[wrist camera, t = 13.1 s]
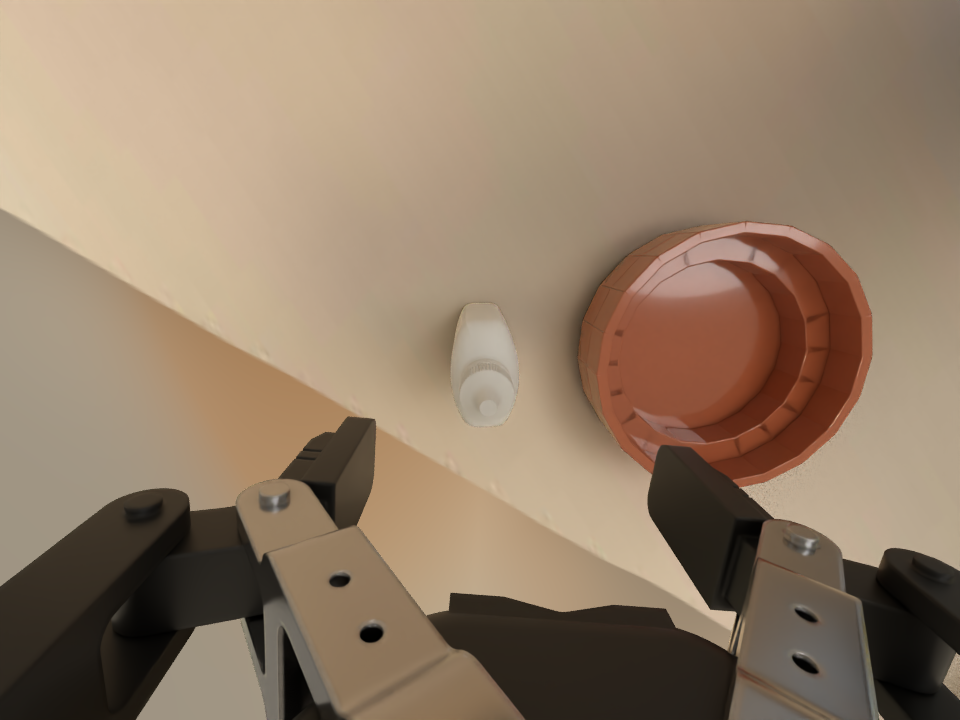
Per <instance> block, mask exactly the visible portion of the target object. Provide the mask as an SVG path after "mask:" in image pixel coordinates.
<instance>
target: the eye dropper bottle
mask: <svg viewBox="0 0 960 720" xmlns="http://www.w3.org/2000/svg"><path fill="white" fill-rule="evenodd" d="M450 377H451V387H452V392H453V396H454V400H455V403H456V406H457V408H458V410H459V413H460V415H461V416H462V418H463V420H464V421H465V422H466V423H467V424H468V425H469V426H473V427H496V426H500V425H502V424H503V423H504V422H505V421H506V420H507V418H508V417H509V415H510V413H511V411H512V408H513V406H514V403H515V400H516V396H517V392H518V385H519V363H518V357H517V352H516V348H515V344H514V341H513V338H512V335H511V333H510V330H509V328H508V326H507V323H506V321H505V319H504V317H503V315H502V313H501V311H500V309H499V307H498V306H497V305H496V304H493V303H470V304H467V305H466V306H465V307H464V308H463V310H462V312H461V314H460V317H459V320H458V324H457V328H456V333H455V339H454V345H453V350H452V357H451V368H450Z"/></svg>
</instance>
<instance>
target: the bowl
mask: <svg viewBox="0 0 960 720" xmlns="http://www.w3.org/2000/svg"><path fill="white" fill-rule="evenodd" d="M871 314H872V313H871V310H870V308H869V305H868V302H867V300H866V297H865V294H864V292H863V289H862V286H861V284H860V281H859V278H858V276H857V274H856V273H855V272H854V271H853V270H852V269H851V268H850V267H849V266H848V264H847V263H846V262H845V261H844V260H843V259H842V258H841V257H840V256H839V255H838V253H837V252H836V251H835V250H834V249H833V248H832V247H831V246H830V245H829V244H827V243H825V242H823V241H821V240H819V239H817V238H815V237H813V236H811V235H809V234H807V233H805V232H803V231H801V230H799V229H797V228H795V227H793V226H789V225H781V224H771V223H761V222H751V221H742V222H732V223H722V224H713V225H703V226H697V227H693V228H689V229H684V230H680V231H676V232H671V233H667V234H663V235H661V236H659V237H657V238H656V239H654V240H652V241H651V242H649V243H647V244H645V245H644V246H642V247H640V248H639V249H637V250H635V251H634V252H632V253H630V254H629V255H628V256H626V257H625V258H624V259H623V260H622V261H621V263H620V264H619V265H618V266H617V267H616V268H615V269H614V270H613V271H612V272H611V273H610V274H609V276H608V277H607V278H606V279H605V280H604V281H603V282H602V283H601V285H600V286H599V288H598V290H597V292H596V294H595V296H594V298H593V300H592V302H591V304H590V306H589V308H588V310H587V312H586V314H585V316H584V318H583V322H582V329H581V336H580V342H579V349H578V363H579V369H580V374H581V380H582V385H583V390H584V393H585V394H586V396H587V398H588V400H589V402H590V403H591V405H592V407H593V409H594V410H595V412H596V414H597V416H598V418H599V419H600V421H601V422H602V423H603V424H604V426H605V427H606V428H607V430H608V431H609V432H610V434H611V435H612V436H613V438H614V439H615V440H616V442H617V443H618V444H619V446H620V447H621V448H622V449H623V450H624V451H625V452H626V453H627V454H629V455H630V456H631V457H632V458H633V459H634V460H635V461H637V462H638V463H639V464H640V465H641V466H642V467H644V468H645V469H646V470H647V471H648V472H650V473H651V474H653V469H654V464H655V460H656V455H657V452H658V449H659V448H660V446H661V445H674V446H685V447H691V448H692V449H693V450H695V451H696V452H697V453H698V454H699V455H700V456H701V457H702V458H703V459H704V460H705V461H706V462H707V463H708V464H710V465H711V466H712V467H713V468H715V469H716V470H718V471H720V472H722V473H723V474H725V475H727V476H728V477H729V478H730V479H731V480H732V481H733V482H735V483H736V484H737V485H738V486H739V487H744V486H749V485H753V484H758V483H763V482H766V481H768V480H770V479H772V478H774V477H776V476H778V475H780V474H782V473H784V472H786V471H788V470H790V469H792V468H794V467H796V466H798V465H800V464H802V463H803V462H804V461H806V460H807V459H808V458H809V457H810V456H811V455H812V454H813V453H815V452H816V451H817V450H818V449H819V448H820V447H821V446H823V445H824V444H825V443H826V442H827V441H828V440H829V439H830V438H832V437H833V436H834V435H835V433H837V431H838V430H839V428H840V427H841V425H842V423H843V422H844V420H845V419H846V417H847V416H848V414H849V413H850V411H851V410H852V408H853V407H854V405H855V404H856V402H857V401H858V399H859V397H860V395H861V392H862V388H863V385H864V382H865V379H866V375H867V372H868V369H869V366H870V363H871V359H872V357H871V356H872V315H871Z"/></svg>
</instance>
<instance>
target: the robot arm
mask: <svg viewBox="0 0 960 720" xmlns="http://www.w3.org/2000/svg"><path fill="white" fill-rule="evenodd" d="M375 440H376V421H375V419H370V418H359V417H347V418H346V419H345V421H344V422H343V423H342V424H341V426H340V427H339V429H338V430H337V431H336V433H331V432H325V433H323V434H321V435H319V436H317V437H315V438H313V439H311V440H310V441H309V442H308V444H307V445H306V446H305V447H304V448H303V451H301V452H300V453H299V454H298V456H297V457H296V459H294V460H293V461H292V463H291V464H290V465H289V466H288V467H287V468H286V470H285V471H284V472H283V473H282V474H281V476H280V477H279V478H278V479H273V480H268V481H263V482H260V483H257V484H254V485H252V486H250V487H248V488H247V489H245V490H244V491H242V492H241V493H240V494H239V495H238V497H237V499H236V506H232V507H226V508H219V509H208V510H199V511H190V504H189V497H188V496H187V494H185V493H184V492H182V491H179V490H175V489H167V488H160V489H150V490H144V491H139V492H135V493H132V494H129V495H126V496H123V497H121V498H118V499H116V500H114V501H112V502H111V503H109V504H107V505H106V506H104V507H103V508H102V509H101V510H99V511H98V512H97V513H95V514H94V515H93V516H92V517H90V518H89V519H88V520H86V521H85V522H84V523H83V524H81V525H80V526H78V527H77V528H76V529H75V530H73V531H72V532H71V533H69V534H68V535H67V536H65V537H64V538H63V539H62V540H60V541H59V542H58V543H56V544H55V545H54V546H52V547H51V548H50V549H49V550H47V551H46V552H45V553H43V554H42V555H41V556H39V557H38V558H37V559H36V560H34V561H33V562H32V563H30V564H29V565H28V566H27V567H25V568H24V569H23V570H21V571H20V572H19V573H17V574H16V575H15V576H13V577H12V578H11V579H10V580H8V581H7V582H6V583H4V584H3V585H2V586H0V720H136V718H137V716H138V715H139V714H140V712H141V711H142V709H143V708H144V706H145V705H146V703H147V702H148V700H149V698H150V697H151V695H152V694H153V692H154V691H155V689H156V688H157V686H158V685H159V683H160V682H161V680H162V679H163V677H164V675H165V674H166V672H167V671H168V669H169V668H170V666H171V665H172V663H173V662H174V660H175V658H176V657H177V655H178V654H179V653H180V651H181V649H182V648H183V646H184V645H185V643H186V642H187V640H188V639H189V637H190V636H191V634H192V633H193V631H194V629H195V627H197V626H203V625H208V624H213V623H219V622H223V621H229V620H235V619H240V618H241V625H242V628H243V632H244V635H245V639H246V642H247V645H248V649H249V652H250V655H251V659H252V662H253V665H254V669H255V672H256V675H257V678H258V682H259V685H260V689H261V692H262V696H263V700H264V705H265V712H266V718H267V720H879V714H880V715H881V716H882V717H883V718H884V720H960V700H959V699H958V698H957V697H956V696H955V695H954V694H953V693H952V692H951V691H950V690H949V689H948V688H947V687H946V686H945V685H944V684H943V681H944V678H945V676H946V674H947V672H948V670H949V667H950V665H951V663H952V661H953V658H954V656H955V654H956V652H957V653H958V654H959V655H960V571H958V570H957V569H955V568H953V567H951V566H949V565H947V564H946V563H943V562H942V561H939V560H937V559H935V558H932V557H930V556H927V555H924V554H921V553H918V552H914V551H910V550H906V549H900V548H890V549H887V550H886V551H885V552H884V555H883V557H882V560H881V563H880V565H879V568H877V567H873V566H869V565H866V564H862V563H858V562H854V561H850V560H846V559H842V553H841V550H840V549H839V547H838V546H837V545H836V544H835V543H834V542H833V541H831V540H830V539H829V538H827V537H826V536H824V535H823V534H821V533H819V532H817V531H815V530H813V529H811V528H809V527H807V526H804V525H801V524H798V523H795V522H792V521H787V520H781V519H774V518H773V517H772V516H771V515H770V514H768V513H767V512H766V511H765V510H764V509H763V508H762V507H761V506H760V505H759V504H758V503H756V502H755V501H754V500H753V499H752V498H749V495H748V494H747V493H745V492H744V491H743V490H742V489H741V488H739V486H738V485H737V484H736V483H735V482H733V481H732V480H731V479H730V478H729V477H728V476H727V475H725V474H723V473H722V472H720V471H718V470H716V469H715V468H713V467H712V466H711V465H710V464H708V463H707V462H706V461H705V460H704V459H703V458H702V457H701V456H700V455H699V454H698V453H697V452H696V451H695V450H693V449H692V448H691V447H685V446H674V445H661V446H660V448H659V449H658V452H657V455H656V460H655V464H654V469H653V474H652V478H651V483H650V487H649V492H648V510H649V514H650V517H651V518H652V520H653V522H654V523H655V525H656V526H657V528H658V529H659V531H660V532H661V534H662V536H663V537H664V539H665V540H666V542H667V543H668V545H669V546H670V548H671V549H672V551H673V553H674V554H675V556H676V557H677V559H678V560H679V562H680V563H681V565H682V566H683V568H684V570H685V571H686V573H687V574H688V576H689V577H690V579H691V580H692V582H693V583H694V585H695V587H696V588H697V590H698V591H699V593H700V594H701V596H702V597H703V599H704V600H705V602H706V603H707V605H708V607H709V608H710V610H722V611H736V613H737V614H736V618H735V621H734V624H733V628H732V632H731V637H730V641H729V645H728V649H727V651H726V650H725V649H723V648H721V647H719V646H718V645H716V644H714V643H712V642H710V641H708V640H706V639H704V638H702V637H700V636H697V635H695V634H692V633H690V632H687V631H684V630H681V629H678V628H676V627H675V625H674V624H673V622H672V620H671V618H670V616H669V614H668V612H667V610H666V609H662V608H648V607H635V606H622V605H610V606H603V607H597V608H590V609H583V610H577V611H570V612H558V611H554V610H550V609H546V608H543V607H539V606H536V605H532V604H528V603H525V602H521V601H517V600H514V599H510V598H506V597H500V596H486V595H473V594H459V593H451V594H450V604H449V611H443V612H438V613H434V614H431V615H427V616H426V615H425V614H424V612H423V611H422V610H421V608H420V607H419V606H418V604H417V603H416V602H415V600H414V599H413V598H412V597H411V595H410V594H409V593H408V591H407V590H406V589H405V587H404V586H403V585H402V583H401V582H400V581H399V580H398V578H397V577H396V576H395V574H394V573H393V572H392V570H391V569H390V568H389V566H388V565H387V564H386V562H385V561H384V560H383V558H382V557H381V556H380V554H379V553H378V552H377V550H376V549H375V548H374V546H373V545H372V544H371V543H370V541H369V540H368V539H367V537H366V536H365V535H364V533H363V532H362V531H361V530H360V528H359V527H357V523H358V521H359V519H360V516H361V514H362V512H363V509H364V507H365V504H366V502H367V499H368V497H369V495H370V492H371V489H372V484H373V477H374V461H375ZM878 712H879V714H878Z"/></svg>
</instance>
